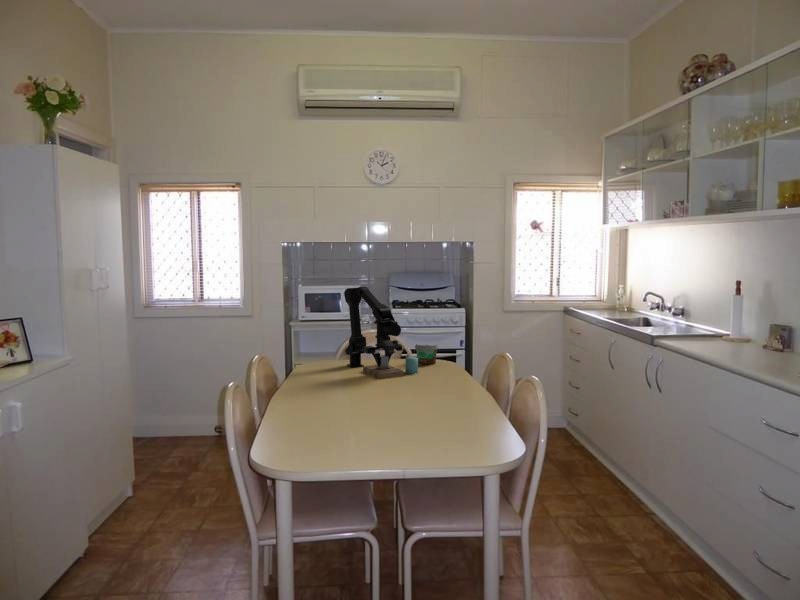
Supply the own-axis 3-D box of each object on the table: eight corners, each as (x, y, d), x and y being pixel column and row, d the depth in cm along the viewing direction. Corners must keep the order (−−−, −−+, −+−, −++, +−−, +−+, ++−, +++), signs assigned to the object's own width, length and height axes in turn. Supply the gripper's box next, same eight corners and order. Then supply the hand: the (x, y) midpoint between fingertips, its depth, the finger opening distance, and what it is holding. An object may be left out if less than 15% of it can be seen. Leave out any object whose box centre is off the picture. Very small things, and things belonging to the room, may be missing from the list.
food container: (412, 364, 288) (412, 345, 288) (415, 362, 294) (415, 343, 293) (435, 366, 285) (435, 346, 284) (438, 363, 291) (438, 344, 290)
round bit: (403, 371, 271) (403, 357, 271) (413, 370, 275) (413, 356, 274) (409, 374, 266) (409, 359, 266) (420, 373, 270) (420, 358, 269)
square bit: (377, 370, 269) (377, 355, 268) (384, 369, 271) (384, 354, 270) (381, 371, 265) (381, 357, 265) (388, 370, 267) (388, 356, 267)
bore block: (363, 371, 273) (363, 366, 273) (384, 368, 279) (384, 363, 279) (380, 378, 258) (380, 373, 257) (403, 375, 264) (403, 370, 263)
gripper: (372, 337, 255) (373, 371, 256) (408, 334, 264) (408, 367, 266) (362, 334, 265) (362, 367, 266) (396, 331, 274) (396, 363, 275)
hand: (382, 366), depth 268 cm, fingers closed on square bit, 4 cm apart
